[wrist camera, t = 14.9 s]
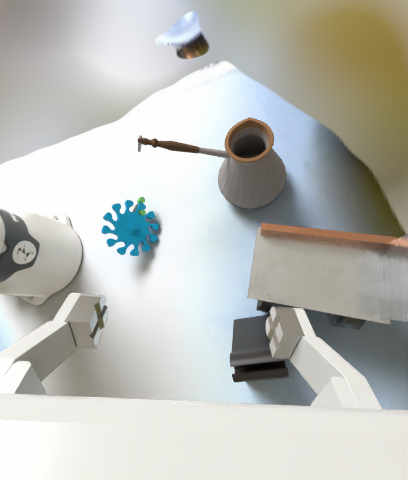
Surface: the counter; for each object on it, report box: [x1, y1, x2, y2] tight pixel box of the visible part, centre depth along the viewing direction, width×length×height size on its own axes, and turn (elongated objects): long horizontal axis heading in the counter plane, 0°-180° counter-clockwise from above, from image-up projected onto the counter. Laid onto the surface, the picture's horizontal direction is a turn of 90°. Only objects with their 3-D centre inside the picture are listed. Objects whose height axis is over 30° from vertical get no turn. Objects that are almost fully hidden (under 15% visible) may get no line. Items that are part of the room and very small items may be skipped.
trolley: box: [247, 223, 408, 330], centre depth 30 cm, size 15×10×17 cm
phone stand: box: [230, 314, 289, 382], centre depth 32 cm, size 9×6×12 cm, turn 8°
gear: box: [102, 197, 159, 256], centre depth 45 cm, size 11×6×10 cm
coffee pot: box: [138, 118, 286, 209], centre depth 38 cm, size 21×12×15 cm, turn 86°
